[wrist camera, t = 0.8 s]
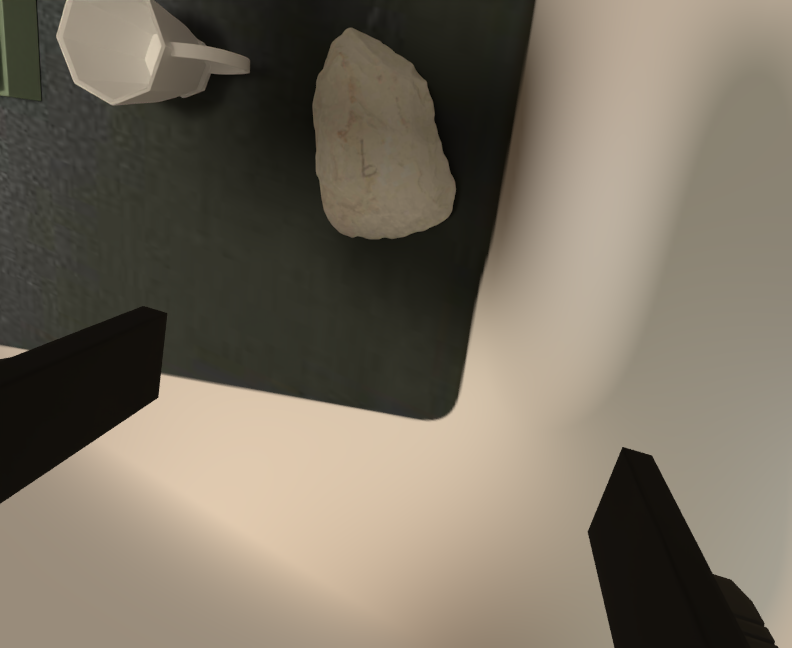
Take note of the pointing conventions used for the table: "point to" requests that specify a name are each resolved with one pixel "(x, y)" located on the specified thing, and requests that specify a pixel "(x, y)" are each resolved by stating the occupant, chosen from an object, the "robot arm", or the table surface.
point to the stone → (378, 143)
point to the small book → (19, 50)
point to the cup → (137, 52)
